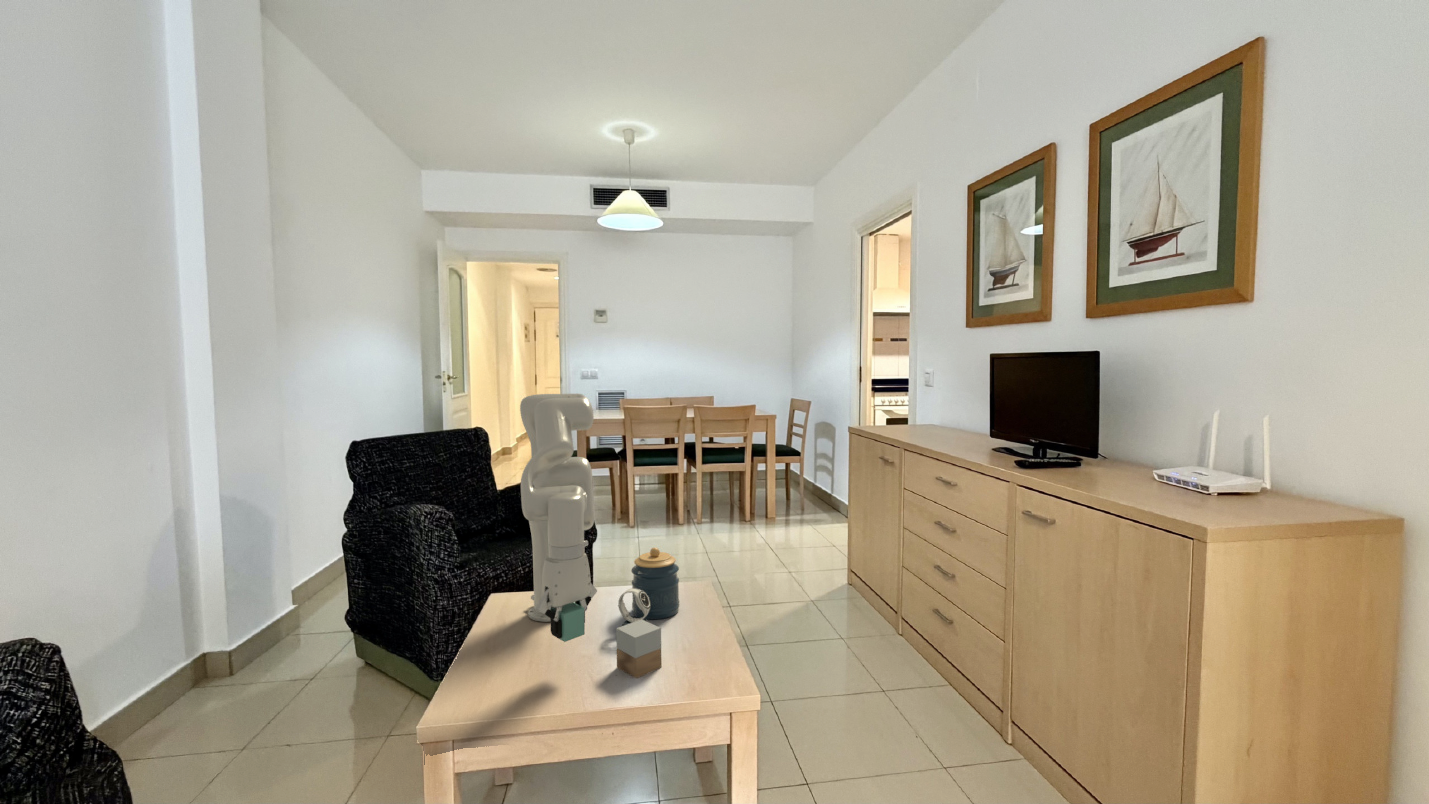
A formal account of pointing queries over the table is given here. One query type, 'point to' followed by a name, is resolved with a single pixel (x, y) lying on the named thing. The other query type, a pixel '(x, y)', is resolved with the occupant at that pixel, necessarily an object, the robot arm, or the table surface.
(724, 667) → the table surface
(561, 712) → the table surface
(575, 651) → the table surface
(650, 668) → the base block
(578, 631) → the stack block
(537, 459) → the robot arm
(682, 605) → the table surface
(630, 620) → the watch
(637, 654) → the top block
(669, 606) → the canister
